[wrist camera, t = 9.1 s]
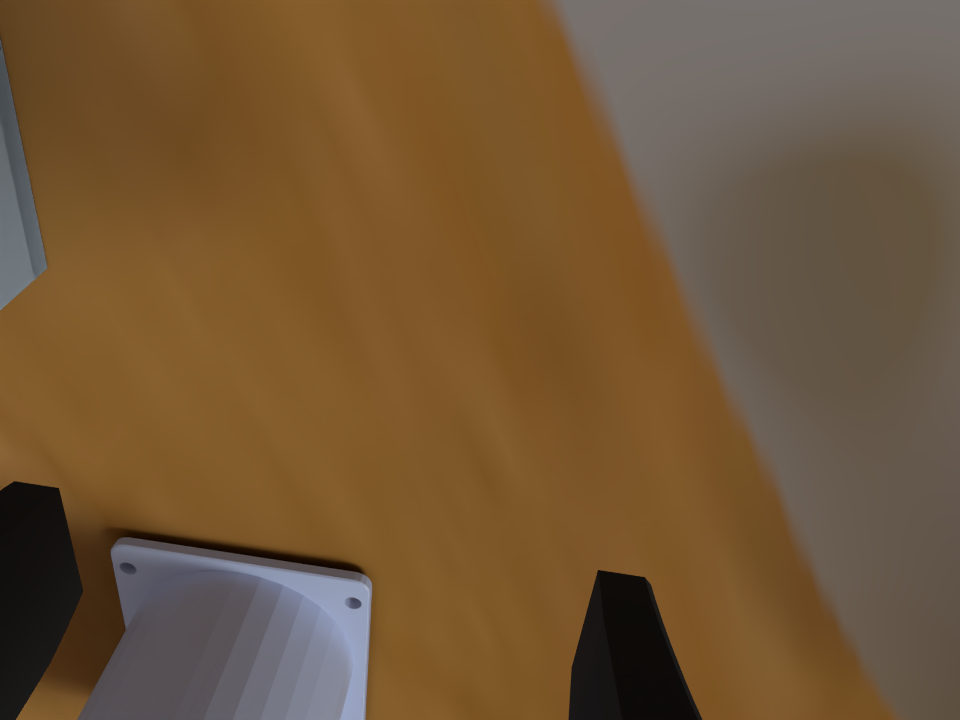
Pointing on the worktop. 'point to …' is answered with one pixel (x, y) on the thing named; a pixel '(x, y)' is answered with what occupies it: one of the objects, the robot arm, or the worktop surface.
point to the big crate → (15, 204)
